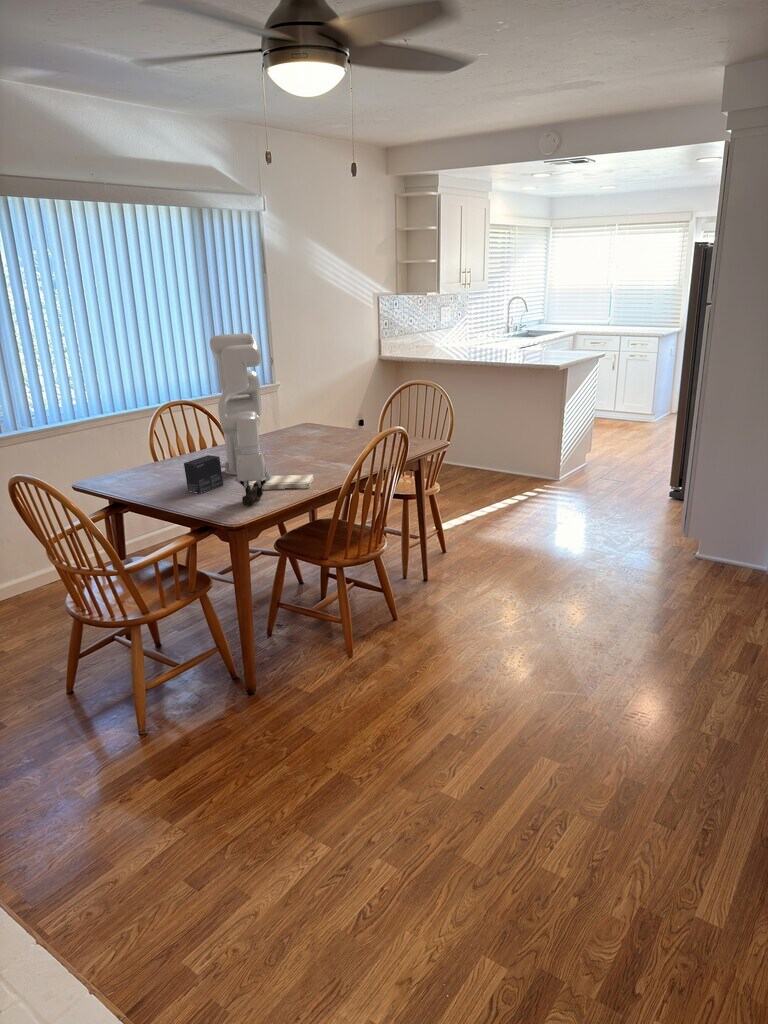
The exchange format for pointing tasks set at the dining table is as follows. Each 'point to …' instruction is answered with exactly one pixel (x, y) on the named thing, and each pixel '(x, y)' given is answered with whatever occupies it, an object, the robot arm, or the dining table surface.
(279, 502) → the dining table surface
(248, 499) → the hand tool
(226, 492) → the dining table surface
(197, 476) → the small box
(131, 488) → the dining table surface
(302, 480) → the birch board
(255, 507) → the dining table surface
